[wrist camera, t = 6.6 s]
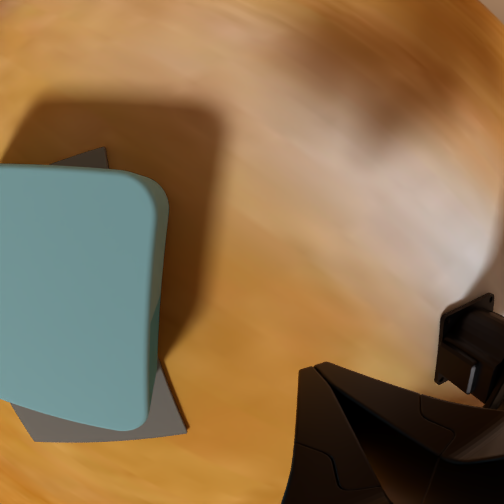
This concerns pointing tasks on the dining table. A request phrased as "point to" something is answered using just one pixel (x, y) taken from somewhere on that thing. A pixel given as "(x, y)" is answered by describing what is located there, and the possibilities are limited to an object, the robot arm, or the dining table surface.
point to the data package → (80, 291)
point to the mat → (61, 430)
